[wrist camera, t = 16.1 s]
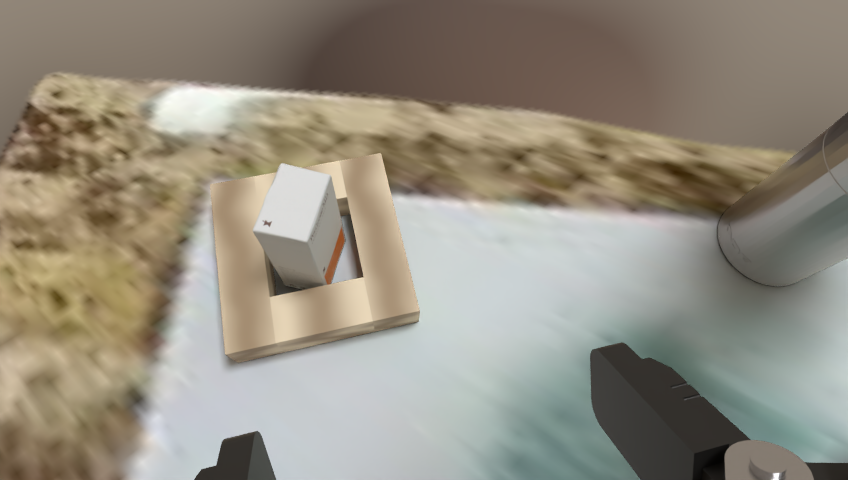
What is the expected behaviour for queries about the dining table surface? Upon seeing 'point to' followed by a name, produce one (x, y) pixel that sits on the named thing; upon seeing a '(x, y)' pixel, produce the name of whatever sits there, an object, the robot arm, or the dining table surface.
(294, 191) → the skincare box
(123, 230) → the dining table surface
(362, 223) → the socket block
